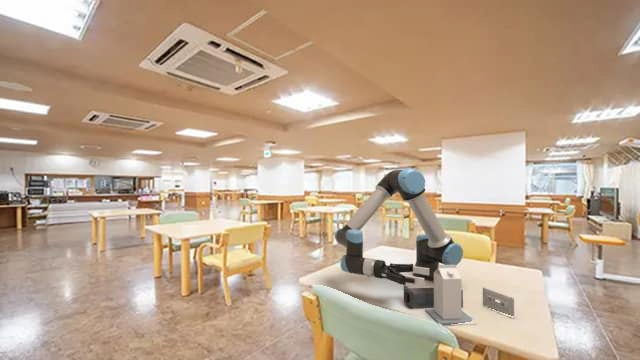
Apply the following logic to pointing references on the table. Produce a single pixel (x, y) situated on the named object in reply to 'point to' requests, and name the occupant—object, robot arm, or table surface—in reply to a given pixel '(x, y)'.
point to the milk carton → (447, 292)
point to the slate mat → (448, 321)
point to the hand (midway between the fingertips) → (426, 276)
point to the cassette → (504, 305)
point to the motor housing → (421, 297)
